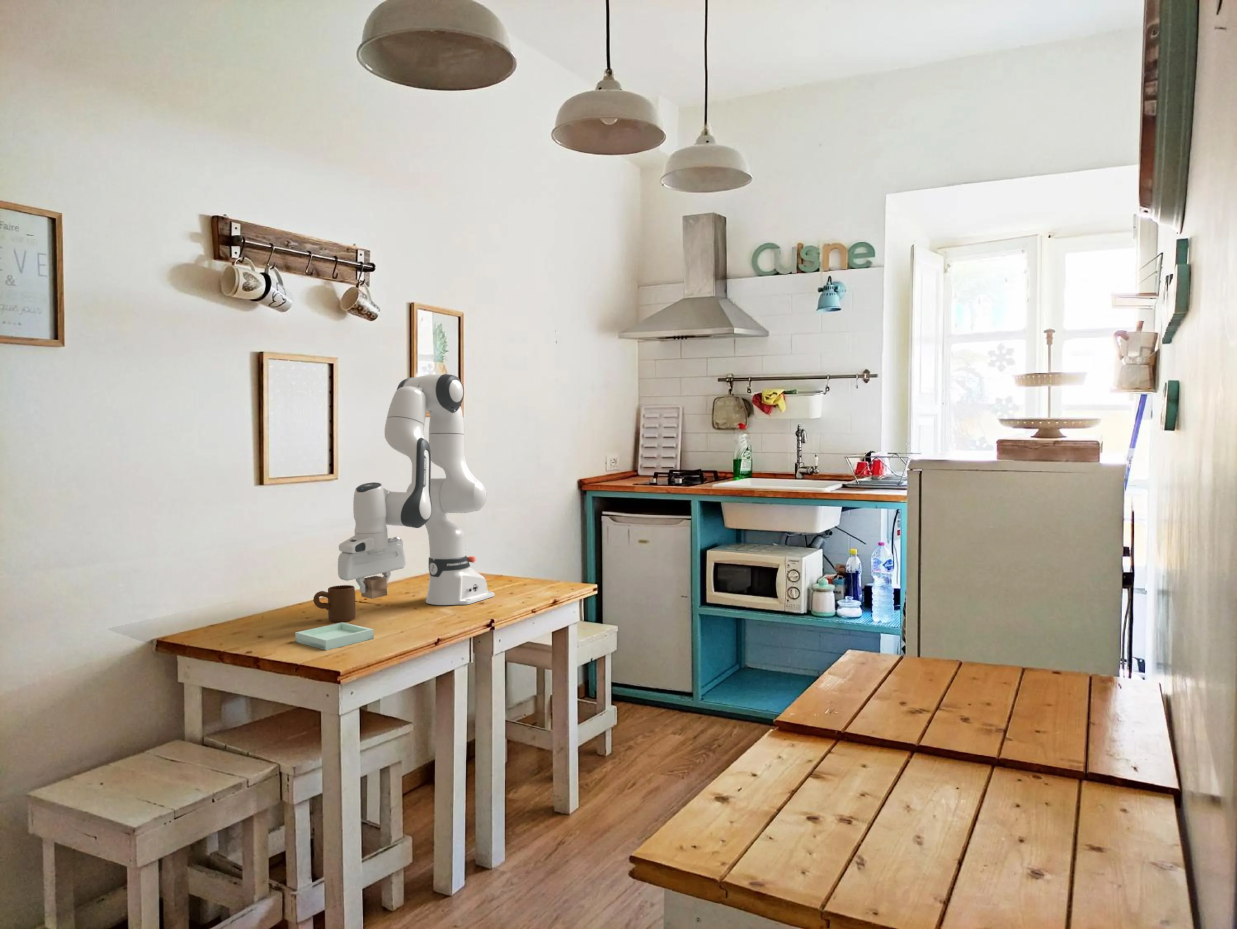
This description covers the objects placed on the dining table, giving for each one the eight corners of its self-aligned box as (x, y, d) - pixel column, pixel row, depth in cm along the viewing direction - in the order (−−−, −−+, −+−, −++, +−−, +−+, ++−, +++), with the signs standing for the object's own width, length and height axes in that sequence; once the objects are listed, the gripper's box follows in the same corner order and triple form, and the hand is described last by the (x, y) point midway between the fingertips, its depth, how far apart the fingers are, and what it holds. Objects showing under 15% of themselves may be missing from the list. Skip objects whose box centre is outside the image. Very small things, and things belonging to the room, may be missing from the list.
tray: (342, 631, 234) (342, 622, 234) (373, 638, 225) (373, 629, 225) (295, 642, 223) (295, 632, 223) (326, 650, 214) (325, 640, 214)
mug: (319, 626, 240) (318, 593, 239) (309, 622, 245) (308, 589, 245) (360, 619, 248) (359, 587, 247) (349, 615, 253) (348, 583, 253)
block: (376, 592, 244) (375, 575, 244) (387, 595, 241) (386, 577, 241) (361, 596, 240) (360, 579, 240) (372, 598, 237) (371, 581, 237)
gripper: (395, 534, 249) (397, 581, 251) (333, 546, 234) (336, 595, 235) (408, 536, 245) (411, 584, 247) (346, 548, 230) (349, 599, 231)
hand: (374, 590), depth 241 cm, fingers closed on block, 5 cm apart
